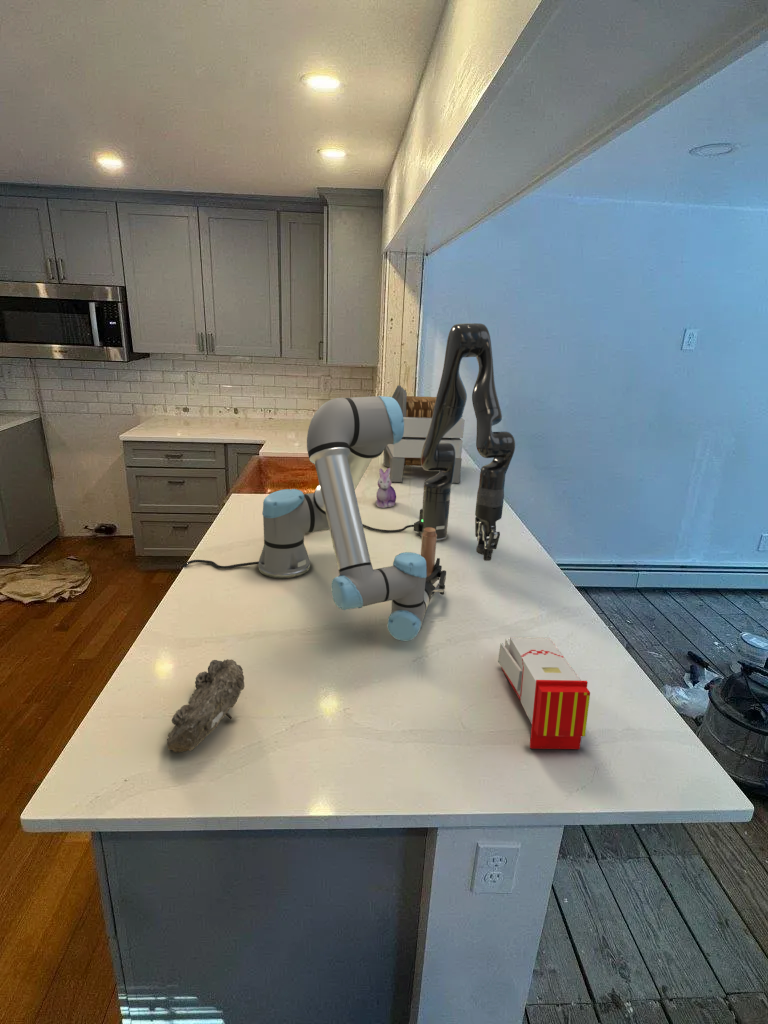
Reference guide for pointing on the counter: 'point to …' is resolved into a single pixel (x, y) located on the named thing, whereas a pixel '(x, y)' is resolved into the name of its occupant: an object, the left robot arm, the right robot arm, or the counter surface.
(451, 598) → the counter surface
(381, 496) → the figurine
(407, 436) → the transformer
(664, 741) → the counter surface
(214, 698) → the fossil
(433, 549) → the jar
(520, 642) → the toy
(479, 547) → the lid
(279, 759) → the counter surface
